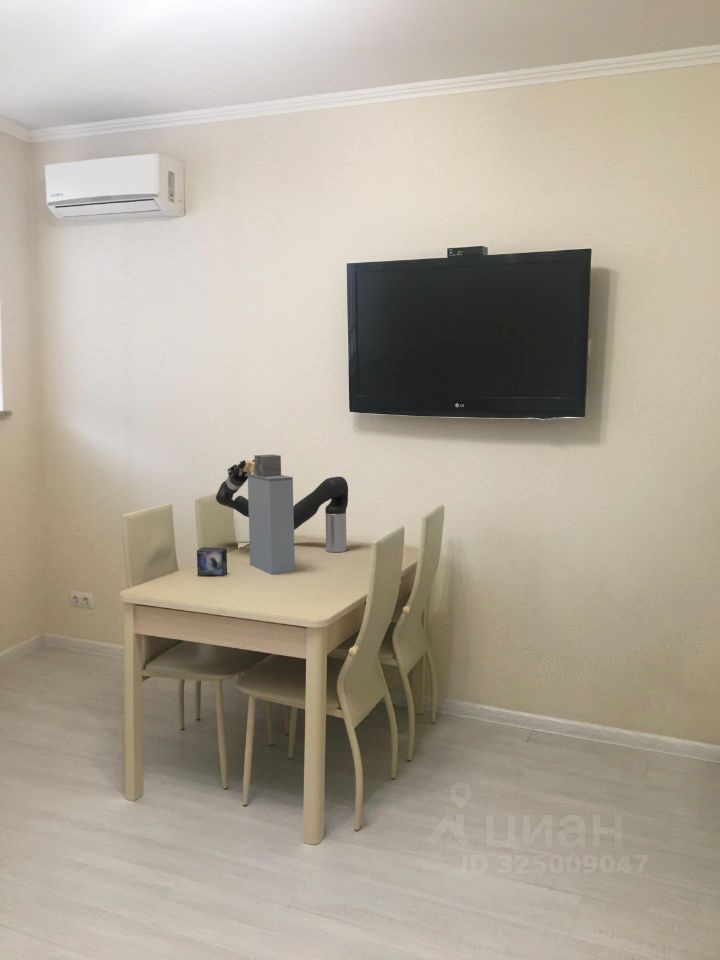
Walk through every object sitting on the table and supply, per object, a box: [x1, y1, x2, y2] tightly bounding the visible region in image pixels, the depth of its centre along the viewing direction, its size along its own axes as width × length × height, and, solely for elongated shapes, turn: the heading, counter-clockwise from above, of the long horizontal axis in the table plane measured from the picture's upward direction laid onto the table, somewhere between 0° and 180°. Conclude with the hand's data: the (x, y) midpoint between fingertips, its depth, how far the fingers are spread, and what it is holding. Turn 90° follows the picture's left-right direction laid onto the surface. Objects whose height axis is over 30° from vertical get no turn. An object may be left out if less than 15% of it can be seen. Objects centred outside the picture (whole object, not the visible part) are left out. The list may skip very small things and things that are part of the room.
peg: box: [239, 453, 282, 477], centre depth 339 cm, size 29×8×8 cm, turn 30°
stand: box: [247, 473, 296, 576], centre depth 331 cm, size 22×10×38 cm, turn 30°
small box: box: [196, 546, 228, 577], centre depth 322 cm, size 11×6×10 cm, turn 80°
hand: (249, 462), depth 346 cm, fingers closed on peg, 4 cm apart
